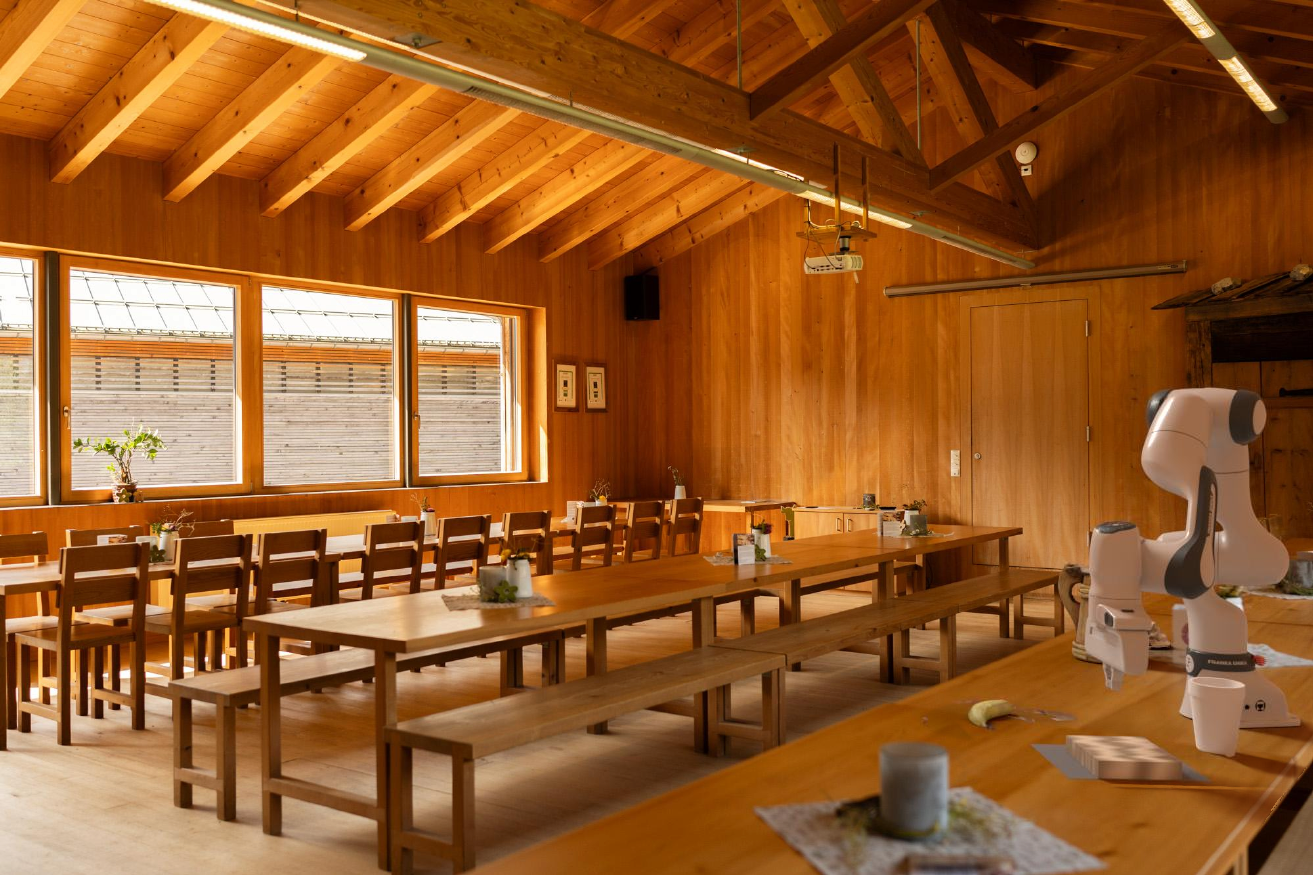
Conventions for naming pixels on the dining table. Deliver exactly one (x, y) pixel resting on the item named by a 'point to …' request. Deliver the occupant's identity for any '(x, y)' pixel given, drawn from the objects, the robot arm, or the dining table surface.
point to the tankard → (1077, 604)
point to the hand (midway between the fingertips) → (1113, 689)
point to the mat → (1078, 771)
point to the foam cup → (1216, 713)
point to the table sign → (1123, 757)
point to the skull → (1157, 636)
